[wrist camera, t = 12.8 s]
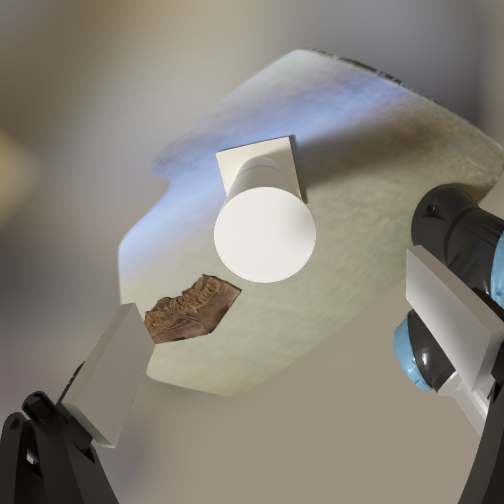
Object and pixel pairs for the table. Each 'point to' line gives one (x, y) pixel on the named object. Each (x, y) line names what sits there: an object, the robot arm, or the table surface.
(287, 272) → the cylindrical container
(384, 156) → the table surface
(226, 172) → the ceramic tile
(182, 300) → the brown relief tablet
